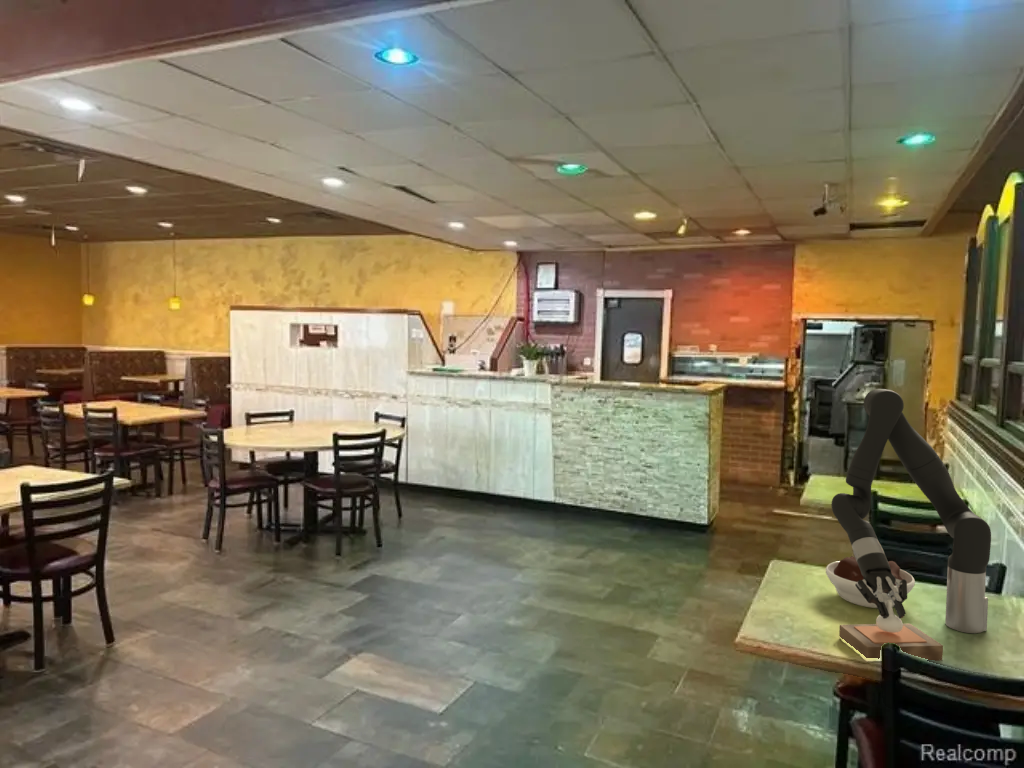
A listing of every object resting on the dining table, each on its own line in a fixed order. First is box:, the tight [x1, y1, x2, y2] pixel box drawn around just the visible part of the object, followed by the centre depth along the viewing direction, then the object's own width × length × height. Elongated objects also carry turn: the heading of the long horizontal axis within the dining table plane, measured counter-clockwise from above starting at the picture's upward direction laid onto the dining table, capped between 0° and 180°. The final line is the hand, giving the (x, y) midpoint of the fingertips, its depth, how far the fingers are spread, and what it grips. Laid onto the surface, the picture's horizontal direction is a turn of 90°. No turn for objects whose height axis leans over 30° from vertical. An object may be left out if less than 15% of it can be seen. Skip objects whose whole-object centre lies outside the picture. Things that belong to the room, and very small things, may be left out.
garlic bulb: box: [875, 600, 904, 633], centre depth 186 cm, size 6×6×8 cm
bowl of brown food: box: [825, 555, 916, 609], centre depth 220 cm, size 25×25×15 cm
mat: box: [854, 626, 927, 643], centre depth 186 cm, size 14×10×1 cm
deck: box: [838, 623, 944, 662], centre depth 186 cm, size 20×14×4 cm
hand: (894, 616), depth 184 cm, fingers closed on garlic bulb, 3 cm apart
